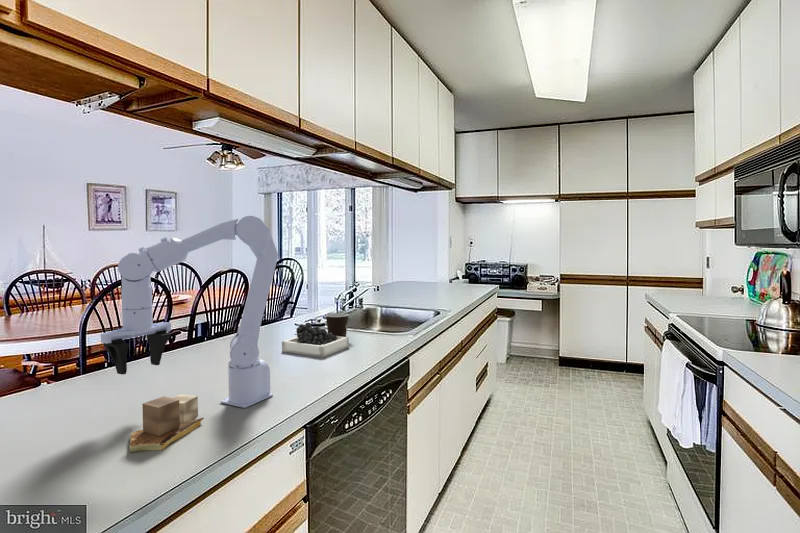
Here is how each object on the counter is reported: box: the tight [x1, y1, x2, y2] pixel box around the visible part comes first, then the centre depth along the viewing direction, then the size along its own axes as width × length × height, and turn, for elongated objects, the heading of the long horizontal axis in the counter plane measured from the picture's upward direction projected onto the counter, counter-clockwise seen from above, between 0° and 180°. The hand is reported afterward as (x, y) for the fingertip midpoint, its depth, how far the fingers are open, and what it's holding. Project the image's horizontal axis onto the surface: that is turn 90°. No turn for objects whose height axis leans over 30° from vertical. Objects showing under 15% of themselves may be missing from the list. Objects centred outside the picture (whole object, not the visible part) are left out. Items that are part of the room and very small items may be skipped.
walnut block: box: [142, 396, 180, 436], centre depth 85 cm, size 4×4×6 cm
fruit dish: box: [281, 336, 350, 358], centre depth 154 cm, size 16×17×4 cm
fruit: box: [294, 323, 337, 345], centre depth 154 cm, size 9×8×15 cm
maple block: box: [172, 394, 199, 422], centre depth 94 cm, size 4×4×4 cm
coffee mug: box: [325, 312, 349, 337], centre depth 169 cm, size 12×9×10 cm
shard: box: [128, 417, 204, 453], centre depth 84 cm, size 13×9×2 cm
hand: (139, 369), depth 96 cm, fingers open, 7 cm apart
